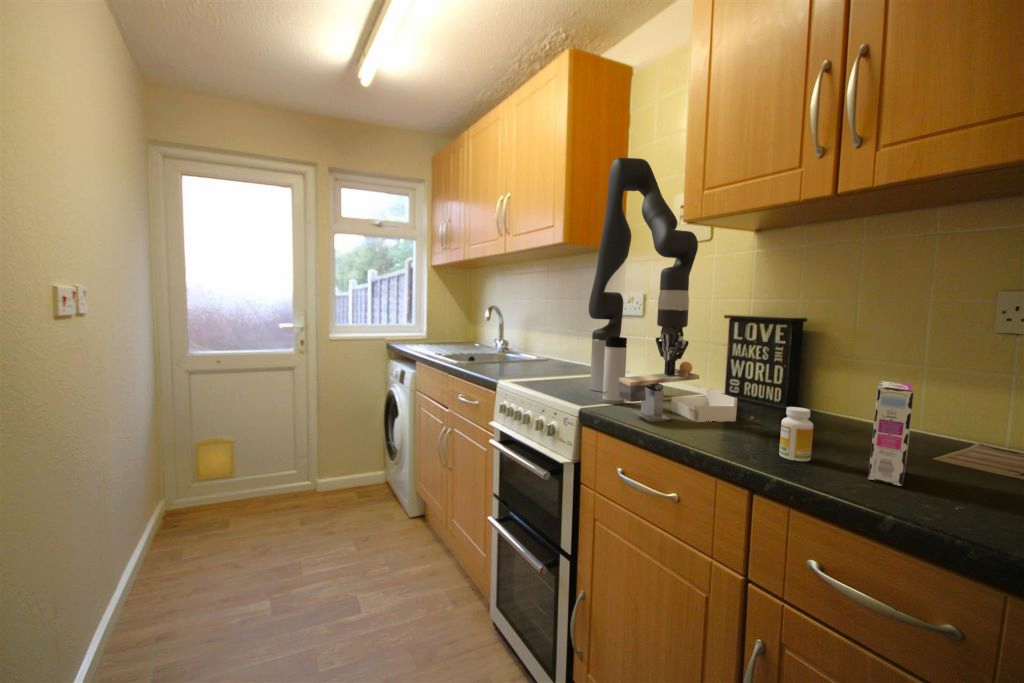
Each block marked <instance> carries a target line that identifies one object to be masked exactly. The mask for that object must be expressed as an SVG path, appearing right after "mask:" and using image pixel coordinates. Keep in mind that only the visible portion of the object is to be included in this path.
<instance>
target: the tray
mask: <svg viewBox="0 0 1024 683" xmlns="http://www.w3.org/2000/svg"><path fill="white" fill-rule="evenodd" d="M737 409H738V397H733V396H730V395H727V394H724V393H722V392H718V391H714V390H711V389H706V392H705V396H671V401H670V412H671V411H672V413H674V414H676V413H677V414H676V415H678V414H679V415H678V416H680V415H681V417H683V416H684V417H683V418H685V417H686V418H685V419H687V418H688V420H689V419H691V420H690V421H692V420H693V421H692V422H694V421H695V422H694V423H713V422H712V421H716V422H715V423H722V422H723V423H726V421H727V422H729V421H730V422H736V421H737V411H738V410H737ZM706 421H707V422H706ZM708 421H709V422H708ZM710 421H711V422H710ZM717 421H718V422H717Z"/></svg>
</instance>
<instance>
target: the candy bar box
mask: <svg viewBox="0 0 1024 683" xmlns="http://www.w3.org/2000/svg"><path fill="white" fill-rule="evenodd" d="M914 393H915V390H914V388H913V384H911V383H903V382H895V381H894V382H893V381H884V380H880V381H879V383H878V385H877V391H876V400H875V409H874V420H873V430H872V436H871V437H872V439H871V449H870V456H869V457H870V458H869V464H868V465H869V467H868V474H867V480H869V481H870V480H874V481H873V482H875V481H880V482H884V483H889V484H893V485H897V486H896V487H898V486H904V479H905V471H906V466H907V465H906V464H907V457H908V450H909V441H910V432H911V423H912V414H913V405H914ZM884 483H883V484H884ZM893 485H892V486H893Z"/></svg>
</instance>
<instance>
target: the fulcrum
mask: <svg viewBox="0 0 1024 683" xmlns="http://www.w3.org/2000/svg"><path fill="white" fill-rule="evenodd" d="M645 391H646V400H645V401H640V402H641V403H640V410H632V414H634V413H635V414H634V415H636V414H637V415H636V416H638V415H639V416H641V417H643V418H645V419H647V420H655V421H654V422H666V421H665V420H672V419H671V418H670V417H668V416H666V415H664V414H663V409H664V393H665V392H664V385H663V383H657V384H648V385H645ZM639 416H638V417H639ZM641 417H640V418H641ZM643 418H642V419H643ZM645 419H644V420H645ZM647 420H646V421H647Z"/></svg>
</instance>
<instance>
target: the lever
mask: <svg viewBox="0 0 1024 683" xmlns="http://www.w3.org/2000/svg"><path fill="white" fill-rule="evenodd" d="M693 380H694V381H695V380H700V375H699V374H697V373H692V372H690V373H688V372H687V371H683V370H680V369H679V368H676V367H675V374H674V375H666V374H665V373H653V374H645V375H635V376H634V375H633V376H625V377H623V378H619V395H620V397H622V398H624V400H626V401H629V402H630V403H634V402H641V401H645V400H646V391H645V385H648V384H657V383H659V384H665V383H675V382H684V381H685V382H687V381H693Z"/></svg>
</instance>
